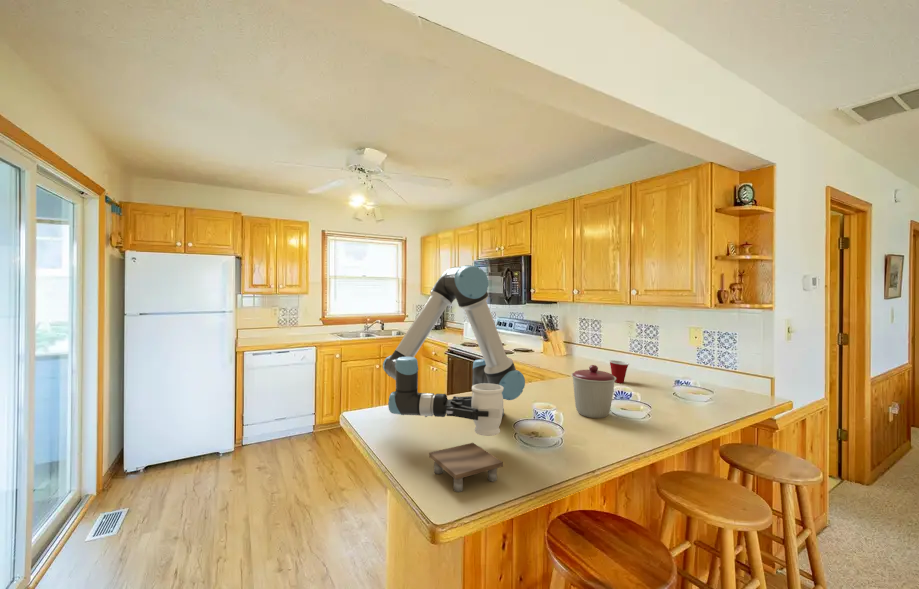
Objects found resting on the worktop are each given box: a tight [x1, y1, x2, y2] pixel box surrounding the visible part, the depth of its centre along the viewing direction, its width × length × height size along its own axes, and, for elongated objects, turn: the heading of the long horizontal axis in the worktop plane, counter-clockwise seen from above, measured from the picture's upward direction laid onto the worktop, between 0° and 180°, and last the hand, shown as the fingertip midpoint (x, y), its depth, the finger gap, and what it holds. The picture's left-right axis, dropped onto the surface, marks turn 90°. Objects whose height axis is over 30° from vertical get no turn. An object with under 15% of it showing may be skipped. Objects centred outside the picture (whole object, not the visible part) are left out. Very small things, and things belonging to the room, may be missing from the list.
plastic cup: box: [608, 359, 630, 384], centre depth 222 cm, size 11×11×12 cm
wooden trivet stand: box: [428, 442, 504, 493], centre depth 108 cm, size 15×15×5 cm
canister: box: [570, 364, 616, 419], centre depth 163 cm, size 18×18×21 cm
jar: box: [471, 383, 504, 437], centre depth 127 cm, size 11×10×15 cm
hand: (500, 408), depth 127 cm, fingers closed on jar, 10 cm apart
